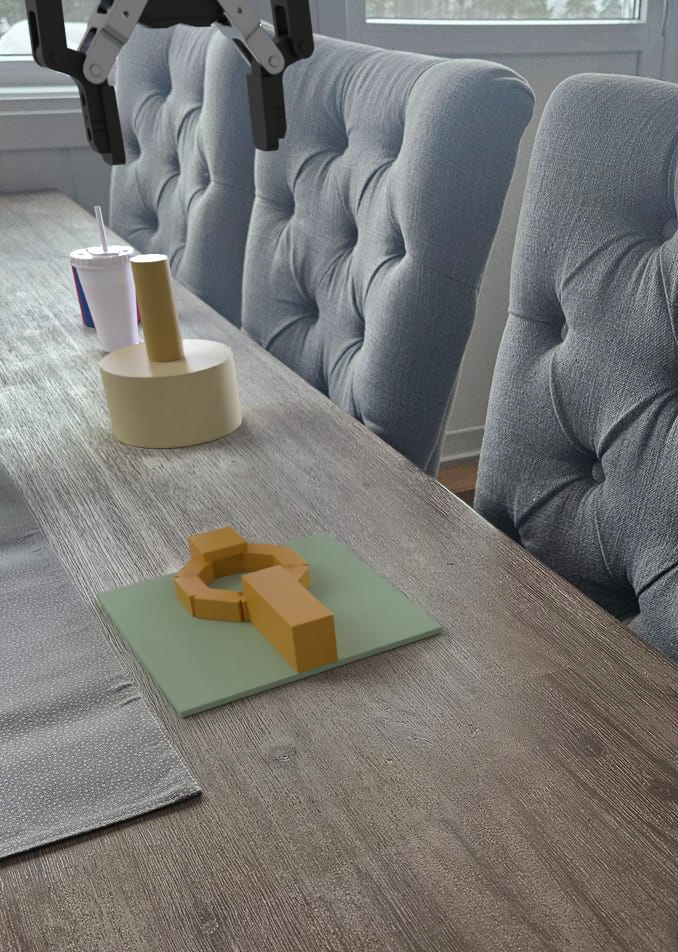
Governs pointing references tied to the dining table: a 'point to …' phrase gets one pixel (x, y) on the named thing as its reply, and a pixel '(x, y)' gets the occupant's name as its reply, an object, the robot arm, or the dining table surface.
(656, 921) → the dining table surface
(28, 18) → the robot arm
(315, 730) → the dining table surface
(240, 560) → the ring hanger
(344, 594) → the mat
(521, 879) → the dining table surface
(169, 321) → the stand
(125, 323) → the smoothie
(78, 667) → the dining table surface
